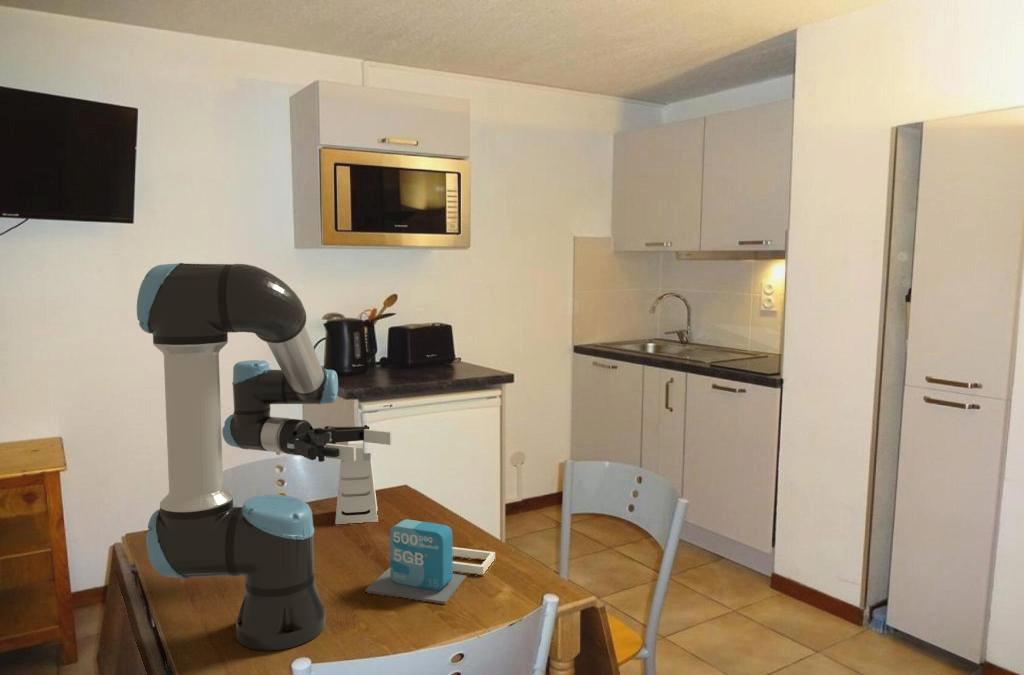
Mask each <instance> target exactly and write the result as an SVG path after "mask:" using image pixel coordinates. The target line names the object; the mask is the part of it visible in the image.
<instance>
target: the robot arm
mask: <svg viewBox="0 0 1024 675" xmlns="http://www.w3.org/2000/svg"><path fill="white" fill-rule="evenodd" d="M136 317H137V318H136V319H137V321H138V322H139V323H138V325H139V327H140V328H141V330H142V331H143V332H145V333H147V334H152V344H153V346H154V347H155V348H157V350H159V351H160V352H161V353H162V354H163V368H164V370H163V371H164V394H165V395H164V397H165V400H164V401H165V418H166V419H165V420H166V424H165V425H166V444H167V446H166V447H167V448H166V449H167V470H168V472H167V473H168V494H166V495H165V497H163V499H161V500H160V502H159V508H158V509H157V510H155V511H154V512H153V513H152V515H151V516H150V518H149V520H148V523H147V529H148V531H147V532H146V539H145V540H146V550H147V555H148V559H149V562H150V564H151V566H152V568H153V569H154V570H155V571H156V572H157V573H158V574H159V575H161V576H163V577H165V578H181V579H191V578H211V577H212V578H213V577H217V578H218V577H238V576H241V577H242V576H244V580H245V581H244V582H245V590H244V595H243V599H242V602H241V605H240V607H239V608H240V609H239V612H238V615H237V618H236V622H235V636H236V640H237V641H238V643H239V644H241V645H242V646H244V647H246V648H247V649H251V650H255V651H256V650H257V651H280V650H287V649H291V648H295V647H298V646H301V645H303V644H305V643H308V642H309V641H311V640H313V639H315V638H316V637H317V636H319V635H320V634H321V633H322V631H323V630H324V629H325V627H326V610H325V606H324V605H323V603H322V599H321V597H320V594H319V591H318V588H317V586H316V583H315V582H316V581H315V551H314V549H315V548H314V547H315V544H314V541H315V540H314V534H315V526H314V521H313V520H314V519H313V512H312V509H311V507H310V505H309V504H308V503H307V502H305V501H303V499H300V498H297V497H294V496H289V495H283V494H264V495H263V496H262V495H256V496H254V497H252V496H251V497H250V498H248V499H246V500H245V501H244V502H243V505H242V506H241V507H240V506H234V496H233V493H232V492H231V491H229V490H228V489H226V488H225V487H224V479H223V478H224V473H223V472H224V471H223V447H222V446H223V441H222V440H224V442H225V443H226V444H227V445H229V446H230V447H234V448H239V449H242V450H252V451H263V452H270V453H271V452H272V453H275V454H276V455H278V456H280V455H281V454H286V455H295V456H300V457H304V458H306V459H308V460H311V461H315V460H316V459H318V462H320V463H321V462H323V463H324V462H325V460H326V459H325V458H327V459H333V460H334V459H335V460H340V461H341V460H349V461H355V460H356V447H355V446H348V445H346V444H345V445H344V444H337V443H345V442H346V443H348V442H350V441H363V443H370V444H378V445H379V444H380V445H387V446H388V445H389V446H391V445H393V432H392V431H388V430H380V429H370V426H368V425H367V424H364V426H329V425H326V426H324V428H322V427H316V428H313V426H312V424H311V423H310V422H309V421H308V420H306V419H297V418H290V417H289V418H288V417H278V416H271V405H323V404H324V405H325V404H333V403H334V402H335V403H336V400H337V398H338V395H339V394H338V392H339V377H338V374H337V371H335V370H334V369H327V368H322V365H321V362H320V360H319V357H318V355H317V353H316V350H315V347H314V345H313V342H312V340H311V338H310V335H309V332H308V330H307V327H306V323H307V313H306V309H305V306H304V304H303V302H302V301H301V299H300V298H299V296H298V295H297V294H296V292H295V291H294V290H293V289H292V288H291V287H290V286H289V285H288V284H287V283H285V281H283V280H282V279H280V278H279V277H277V276H276V275H274V274H273V273H271V272H269V271H267V270H266V269H262V268H260V267H258V266H256V265H251V264H244V263H231V264H230V263H229V264H228V263H184V262H178V263H166V264H164V263H163V264H158V265H155V266H154V267H152V268H151V269H150V270H149V271H147V273H146V274H145V275H144V279H143V280H141V284H140V286H139V289H138V294H137V299H136ZM228 333H251V334H255V335H256V336H257V338H259V339H260V340H262V341H263V342H266V344H267V346H268V348H269V350H270V352H271V353H272V355H273V357H274V359H275V360H276V362H277V364H278V366H279V369H271V367H270V363H269V362H268V361H266V360H259V359H257V360H256V359H253V360H242V361H238V362H236V363H235V364H234V365H233V369H232V371H233V372H232V382H231V384H232V392H233V393H232V394H233V395H232V396H233V413H232V414H230V415H228V417H227V418H226V419H225V421H224V426H222V415H221V409H222V408H221V382H220V379H221V378H220V377H221V376H220V351H221V350H222V349H223V348H224V347H225V346H226V345H227V344H228V342H229V341H228V339H229V338H228V335H229V334H228ZM222 438H223V439H222Z"/></svg>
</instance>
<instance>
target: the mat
mask: <svg viewBox="0 0 1024 675" xmlns="http://www.w3.org/2000/svg"><path fill="white" fill-rule="evenodd" d="M466 577H467V574H460V573H453V577H452V579H451V581H450V582H449V583H448V584H446V585H445V586H444V587H443V588H442V589H441V590H439V591H435V590H430V589H424V588H419V587H414V586H409V585H403V584H398V583H395V582H394V581H393V580H392V578H391V575H390V567H389V568H387V569H386V570H385V571H384V572H383V573H382V574H381V575H380V576H378V578H376V580H374V581H373V582H371V584H370V585H368V586H367V588H365V589H364V593H365V592H368V593H367V594H371V593H373V595H377V594H380V595H379V596H384V595H388V596H387V597H391V596H397V597H396V598H398V597H403V598H402V599H404V598H409V599H408V600H411V599H415V600H414V601H418V600H422V601H421V602H425V601H430V602H429V603H431V602H436V603H435V604H438V603H443V604H442V605H447V603H448V602H449V601H450V599H451V598H452V597H453V595H454V594H455V593H456V592H457V591H456V589H457V588H458V587H459V585H460V584H461V583H462V582H463V580H464V579H465V578H466ZM466 579H467V578H466ZM463 583H464V582H463ZM463 583H462V584H463ZM462 584H461V585H462ZM459 588H460V587H459ZM459 588H458V589H459ZM458 589H457V590H458ZM455 591H456V592H455ZM454 592H455V593H454ZM453 593H454V594H453ZM451 596H452V597H451ZM450 597H451V598H450ZM449 598H450V599H449ZM447 601H448V602H447ZM446 602H447V603H446Z"/></svg>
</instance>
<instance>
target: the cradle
mask: <svg viewBox="0 0 1024 675" xmlns="http://www.w3.org/2000/svg"><path fill="white" fill-rule="evenodd" d="M453 556H462V557H470V558H481V559H486V560H485V561H482V563H481V564H475V563H467V562H460V561H453V571H461V572H469V573H477V574H484V573H485V571H486V570H487V569H488V567H489V566H490V565H491V563H492V562H493V561H494V559H495V560H496V552H495V551H489V550H488V551H487V550H481V549H473V548H472V549H471V548H463V547H455V546H453Z"/></svg>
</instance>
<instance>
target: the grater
mask: <svg viewBox="0 0 1024 675" xmlns="http://www.w3.org/2000/svg"><path fill="white" fill-rule="evenodd" d="M347 446H355V447H356V460H355V461H349V460H341V459H340V466H339V478H338V486H337V500H336V513H335V522H334V525H335V524H347V523H363V522H378V523H379V517H378V516H379V514H378V515H377V511H378V502H377V501H378V500H377V496H376V488H375V479H374V470H373V469H374V468H373V462H372V453H371V452H365V453H364V440H363V441H350V442H347ZM368 511H369V512H368ZM343 512H344V513H345V514H343ZM362 512H368V513H366V514H352V515H351V513H362ZM346 514H347V515H346ZM348 514H350V515H348Z"/></svg>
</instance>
